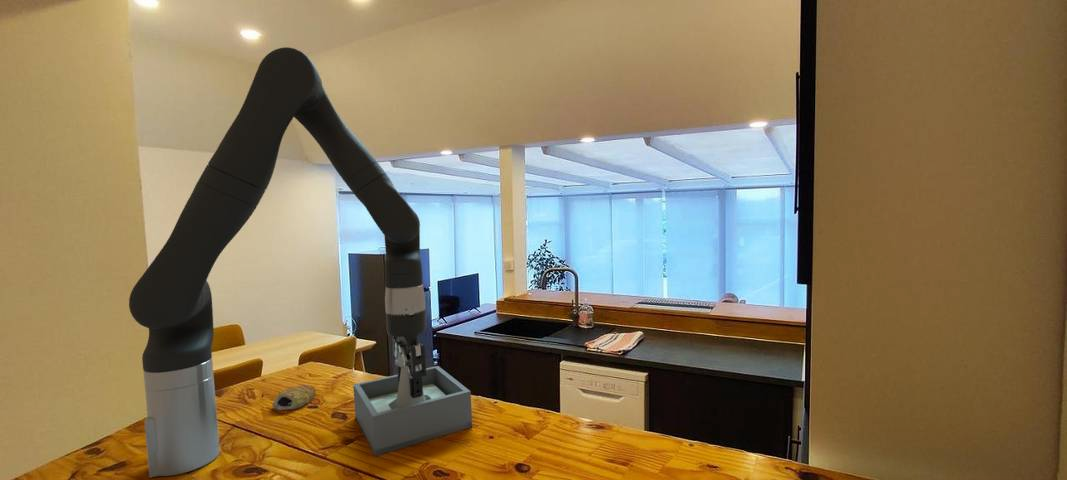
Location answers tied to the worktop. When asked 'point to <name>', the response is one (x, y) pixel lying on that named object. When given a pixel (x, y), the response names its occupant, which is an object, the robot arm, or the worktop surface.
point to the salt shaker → (405, 387)
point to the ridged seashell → (294, 397)
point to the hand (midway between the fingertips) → (410, 389)
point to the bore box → (411, 411)
